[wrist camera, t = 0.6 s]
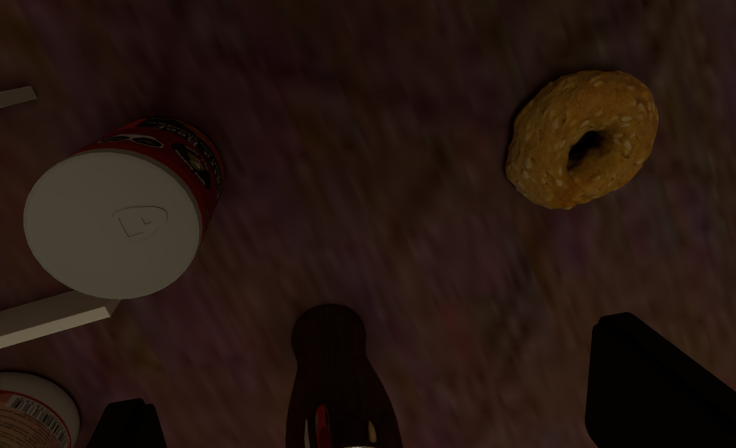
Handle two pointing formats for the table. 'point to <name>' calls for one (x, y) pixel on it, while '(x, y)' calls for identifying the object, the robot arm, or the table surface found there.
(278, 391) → the table surface
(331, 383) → the beer glass
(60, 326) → the box
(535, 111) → the bagel
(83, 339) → the table surface
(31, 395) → the fruit juice
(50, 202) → the canned food
